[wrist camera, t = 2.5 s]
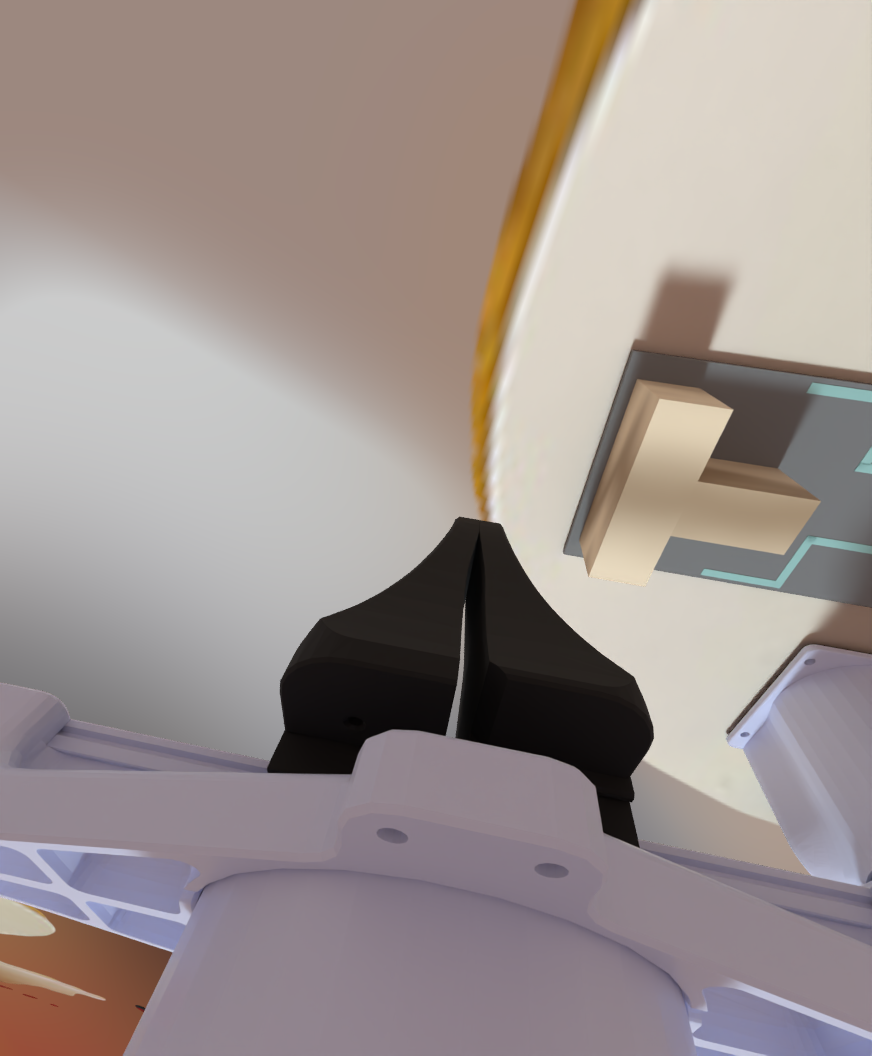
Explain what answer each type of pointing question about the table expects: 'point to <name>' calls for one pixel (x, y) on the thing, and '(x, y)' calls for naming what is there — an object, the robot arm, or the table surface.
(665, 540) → the t block
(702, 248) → the table surface
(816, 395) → the mat
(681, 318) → the table surface
